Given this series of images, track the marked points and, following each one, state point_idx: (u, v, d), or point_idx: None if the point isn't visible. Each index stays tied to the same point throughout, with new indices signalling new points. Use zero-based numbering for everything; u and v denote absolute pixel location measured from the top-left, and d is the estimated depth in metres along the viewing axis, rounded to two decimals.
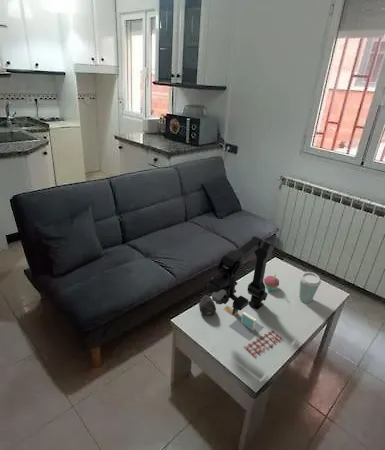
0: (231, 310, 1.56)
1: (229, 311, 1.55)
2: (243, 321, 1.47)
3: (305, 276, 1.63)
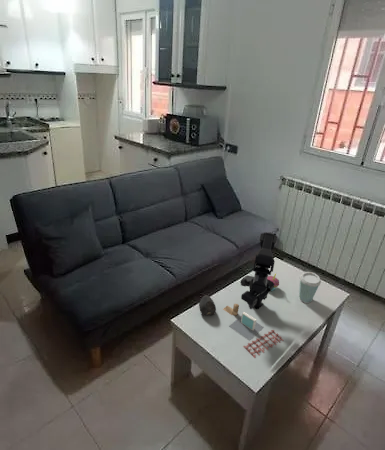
0: (231, 310, 1.56)
1: (229, 311, 1.55)
2: (243, 321, 1.47)
3: (305, 276, 1.63)
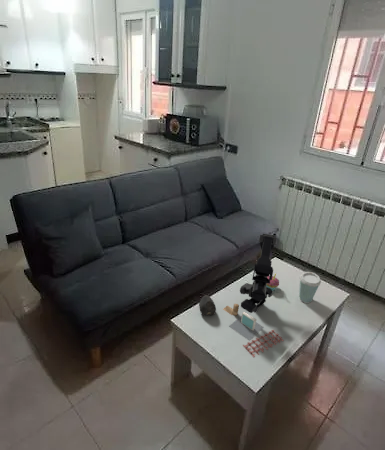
0: (231, 310, 1.56)
1: (229, 311, 1.55)
2: (243, 321, 1.47)
3: (305, 276, 1.63)
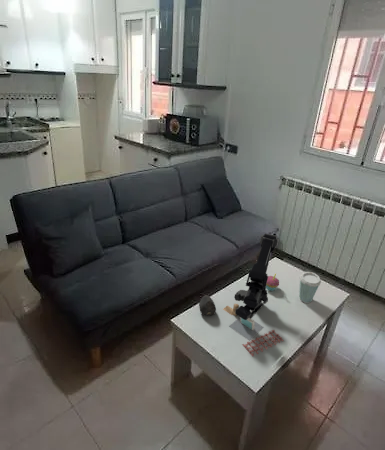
0: (231, 310, 1.56)
1: (229, 311, 1.55)
2: (242, 322, 1.47)
3: (305, 276, 1.63)
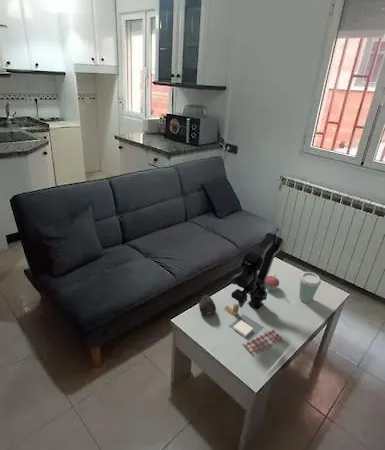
0: (231, 310, 1.56)
1: (229, 311, 1.55)
2: None
3: (305, 276, 1.63)
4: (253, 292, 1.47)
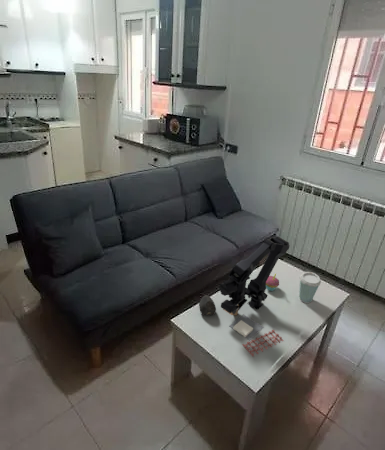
0: None
1: None
2: None
3: (305, 276, 1.63)
4: None
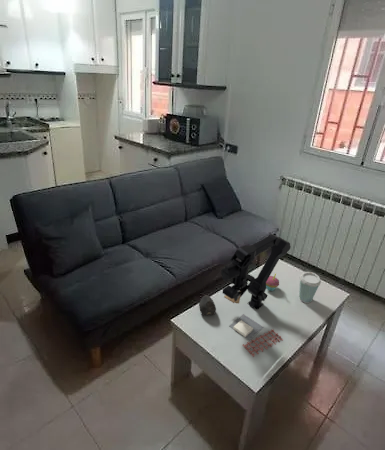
0: None
1: None
2: None
3: (305, 276, 1.63)
4: (241, 291, 1.49)
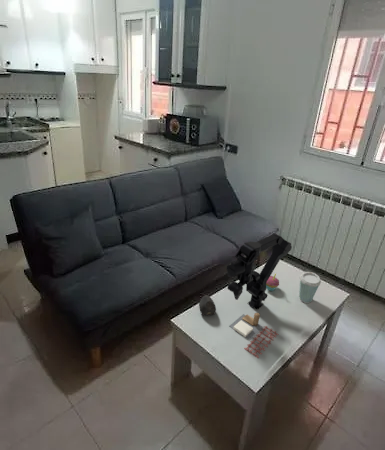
0: (251, 319, 1.50)
1: (249, 320, 1.49)
2: None
3: (305, 276, 1.63)
4: (249, 284, 1.50)
